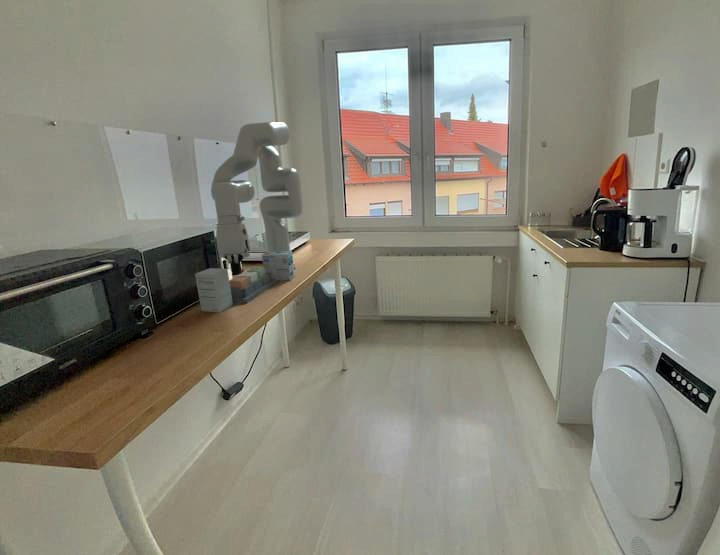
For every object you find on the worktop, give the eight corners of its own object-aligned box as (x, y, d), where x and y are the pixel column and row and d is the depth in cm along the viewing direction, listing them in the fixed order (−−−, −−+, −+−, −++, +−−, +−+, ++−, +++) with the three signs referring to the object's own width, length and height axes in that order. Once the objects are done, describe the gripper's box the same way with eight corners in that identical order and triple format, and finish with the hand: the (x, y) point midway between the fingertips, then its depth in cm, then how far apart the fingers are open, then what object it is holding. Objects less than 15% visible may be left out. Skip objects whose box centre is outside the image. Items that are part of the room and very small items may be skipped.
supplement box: (215, 303, 144) (209, 267, 141) (233, 305, 141) (228, 268, 138) (200, 311, 137) (194, 273, 134) (219, 312, 135) (213, 274, 131)
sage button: (254, 277, 163) (253, 267, 162) (266, 277, 162) (265, 267, 161) (248, 281, 158) (246, 270, 157) (260, 281, 157) (259, 270, 156)
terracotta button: (236, 288, 150) (235, 277, 149) (249, 288, 149) (248, 277, 148) (229, 292, 146) (227, 281, 145) (242, 292, 144) (241, 281, 143)
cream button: (245, 282, 157) (244, 272, 156) (258, 282, 155) (257, 272, 154) (239, 286, 152) (237, 275, 151) (252, 286, 151) (250, 275, 150)
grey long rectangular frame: (252, 282, 167) (251, 271, 166) (276, 283, 165) (274, 271, 163) (220, 303, 144) (218, 290, 143) (246, 303, 142) (245, 290, 141)
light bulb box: (295, 276, 173) (292, 250, 170) (291, 280, 167) (288, 253, 164) (269, 277, 174) (266, 251, 171) (264, 281, 168) (261, 255, 165)
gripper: (255, 218, 143) (261, 271, 147) (215, 219, 146) (223, 271, 151) (244, 221, 136) (251, 276, 140) (203, 222, 139) (211, 276, 144)
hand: (236, 273), depth 145 cm, fingers closed
